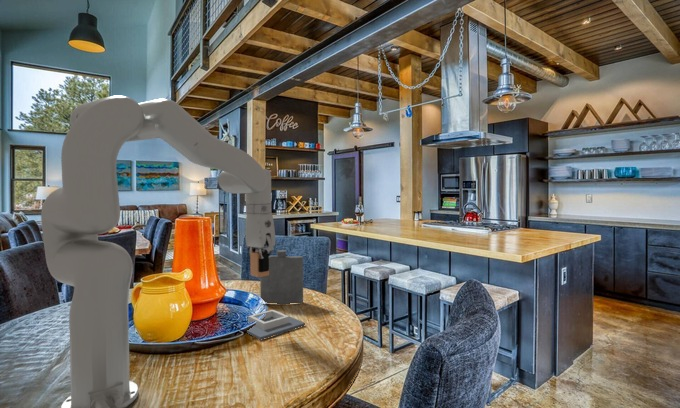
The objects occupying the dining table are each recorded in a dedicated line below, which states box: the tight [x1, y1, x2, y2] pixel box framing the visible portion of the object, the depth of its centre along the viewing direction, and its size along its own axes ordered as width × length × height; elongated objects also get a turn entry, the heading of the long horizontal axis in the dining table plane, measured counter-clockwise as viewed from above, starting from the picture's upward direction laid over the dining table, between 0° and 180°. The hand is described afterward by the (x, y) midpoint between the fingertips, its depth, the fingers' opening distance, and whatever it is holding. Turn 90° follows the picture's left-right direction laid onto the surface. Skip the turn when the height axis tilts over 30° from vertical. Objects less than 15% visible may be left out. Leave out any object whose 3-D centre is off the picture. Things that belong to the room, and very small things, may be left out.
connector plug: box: [249, 248, 269, 278], centre depth 107 cm, size 4×4×8 cm
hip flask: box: [259, 249, 304, 304], centre depth 132 cm, size 16×4×20 cm, turn 92°
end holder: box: [246, 309, 306, 341], centre depth 110 cm, size 16×16×3 cm
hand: (259, 269), depth 108 cm, fingers closed on connector plug, 4 cm apart
